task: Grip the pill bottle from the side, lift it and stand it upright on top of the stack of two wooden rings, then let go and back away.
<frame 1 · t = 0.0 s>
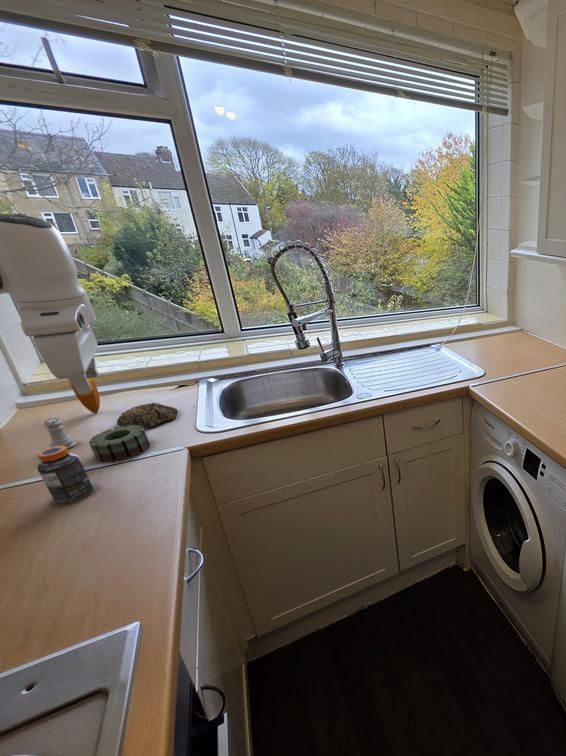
hand: (89, 384, 78), 26 cm above the worktop, tool pointing down, fingers open, 8 cm apart
bread roll: (151, 420, 117), on the worktop
rook chess piece: (64, 447, 103), on the worktop
carrot: (96, 414, 120), on the worktop
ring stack: (124, 451, 102), on the worktop
pill bottle: (75, 495, 87), on the worktop
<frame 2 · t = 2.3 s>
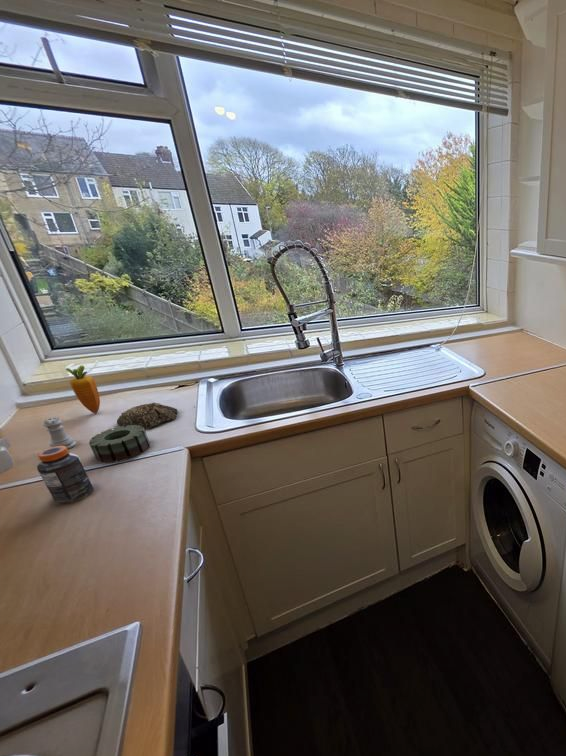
nothing on the worktop moved.
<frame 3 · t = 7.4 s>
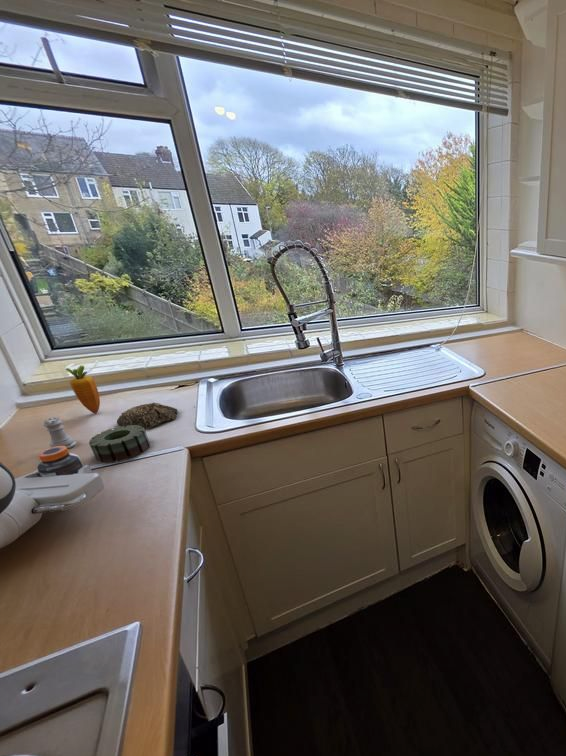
hand: (66, 469, 85), 6 cm above the worktop, tool horizontal, fingers closed on pill bottle, 6 cm apart
pill bottle: (75, 495, 87), on the worktop, touching gripper
everything else where it was.
when the fingers open (11 cm above the worktop, at t = 14.3 s): pill bottle stays where it is, resting on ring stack.
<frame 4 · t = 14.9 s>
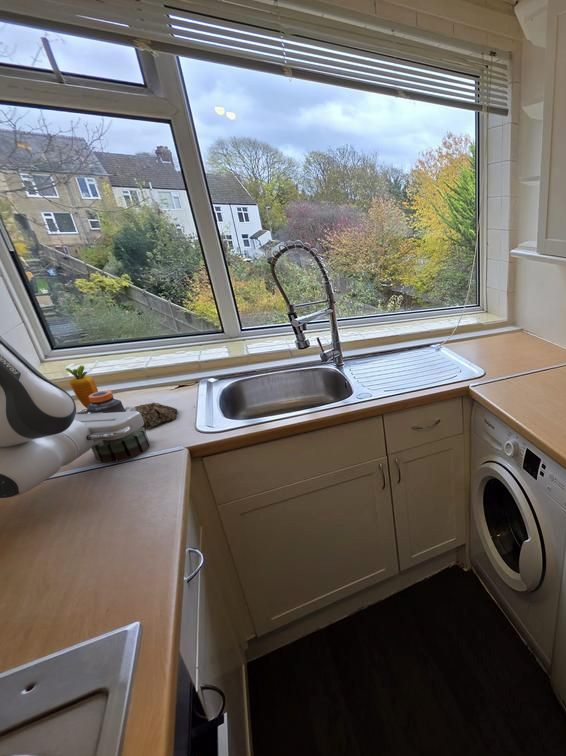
hand: (110, 410, 98), 11 cm above the worktop, tool horizontal, fingers open, 8 cm apart
pill bottle: (117, 435, 100), point 5 cm above the worktop, touching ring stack
everything else where it was.
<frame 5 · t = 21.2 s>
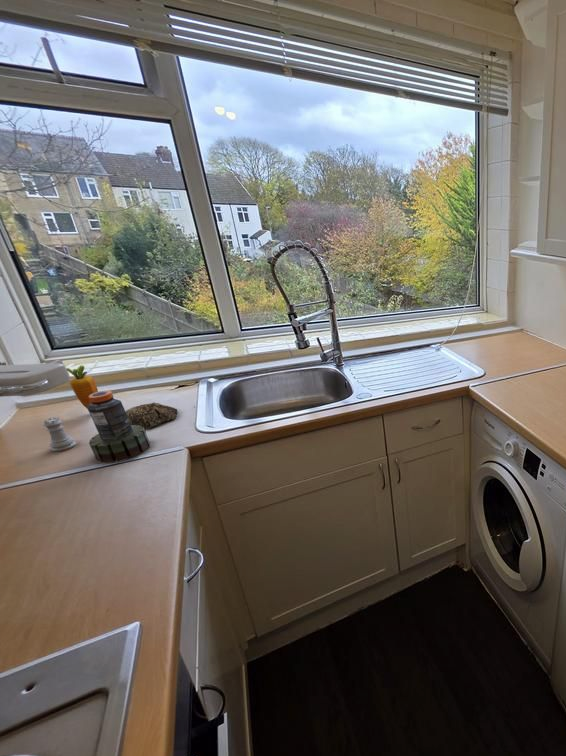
hand: (31, 364, 80), 28 cm above the worktop, tool horizontal, fingers open, 8 cm apart
nothing on the worktop moved.
at the end: pill bottle 0.1 cm off-centre on the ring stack, point 4.6 cm above the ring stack's base; pill bottle tilted 0°; the gripper is holding nothing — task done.
